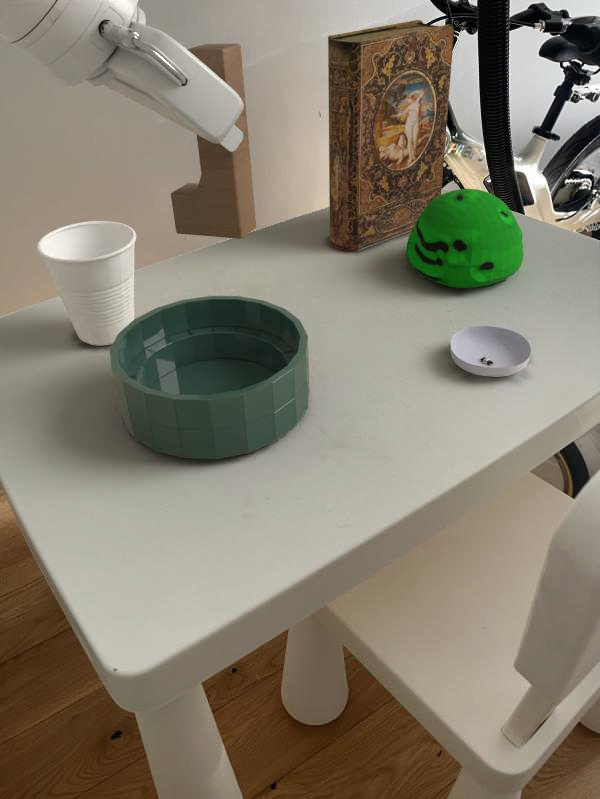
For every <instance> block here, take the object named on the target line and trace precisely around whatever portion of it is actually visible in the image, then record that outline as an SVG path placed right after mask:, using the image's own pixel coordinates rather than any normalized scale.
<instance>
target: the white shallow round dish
mask: <svg viewBox="0 0 600 799" xmlns="http://www.w3.org/2000/svg"><path fill="white" fill-rule="evenodd" d="M449 345H450V346H449V347H450V355H451V358H452V361H453V362H454V363H455V364H456V365H457V366H458V367H460V368H461V369H462V370H464V371H466V372H468V373H470V374H473V375H476V376H480V377H481V376H482V377H493V378H494V377H495V378H498V377H499V378H500V377H501V378H502V377H503V378H504V377H508V376H513V375H514V374H518V373H519V372H521V371H523V369H525V368H526V366H527V365H528V364H529V361H530V357H531V352H532V349H531V344H530V343H529V341H528V339H526V338H525V337H524V336H523V335H522V334H520V333H518V332H516V331H514V330H511V329H508V328H504V327H498V326H489V325H479V326H478V325H477V326H469V327H466V328H463V329H460V330H458V331H457V332H455V333H454V334H453V335H452V337H451V339H450V344H449Z"/></svg>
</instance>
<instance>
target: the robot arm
mask: <svg viewBox="0 0 600 799" xmlns="http://www.w3.org/2000/svg"><path fill="white" fill-rule="evenodd" d="M138 3H139V0H0V37H1V38H2V39H3V40H4V41H5V42H6V43H8V44H9V45H11V47H13V48H14V49H16V50H17V51H18V52H19V53H20V54H22V55H23V56H25V57H26V58H28V59H29V60H30V61H31V62H33V63H34V64H35V65H37V66H39V67H40V68H41V69H42V70H44V71H45V72H46V73H48V74H49V75H50V76H52V77H53V78H54V79H56V80H57V81H58V82H59V83H60V84H62V85H64V86H65V87H73V86H77V85H79V84H81V83H83V82H85V81H87V82H88V83H90V84H91V85H92V86H94V87H99V86H106V87H108V88H109V89H111V90H113V91H114V92H116V93H118V94H120V95H123V96H124V97H126V98H128V99H130V100H132V101H134V102H135V103H138V104H139V105H141V106H143V107H145V108H147V109H149V110H150V111H152V112H154V113H156V114H158V115H160V116H161V117H163V118H165V119H167V120H169V121H171V122H173V123H175V124H177V125H178V126H180V127H182V128H184V129H186V130H188V131H189V132H192V133H193V134H194V135H196V136H197V135H199V136H201V137H203V138H204V139H206V140H208V141H210V142H212V143H214V144H219V145H220V146H221V147H223V148H224V149H226V150H228V151H230V152H233V151H235V150H236V149H237V147H238V146H239V144H240V143H241V141H242V140H243V133H242V131H240V130H239V129H238V128H237V127H236V126H235V125H234V124H235V122H236V121H237V119H238V117H239V116H240V114H241V112H242V110H243V108H244V104H243V101H242V99H241V98H240V96H239V95H238V94H237V93H236V92H235V91H234V90H233V89H232V88H231V87H230V86H229V85H228V84H227V83H225V82H224V81H223V80H222V79H221V78H220V77H219V76H217V75H216V74H215V73H214V72H213V71H212V70H211V69H209V68H208V67H207V66H206V65H205V64H204V63H202V62H201V61H200V60H199V59H198V58H197V57H195V56H194V55H193V54H192V53H191V52H190V51H188V50H187V49H188V48H186V47H185V46H184V45H182V44H181V43H180V42H178V41H177V40H176V39H174V38H173V37H171V36H170V35H169V34H167V33H165V32H164V31H162V30H161V29H158V28H155V27H153V26H150V25H147V18H146V13H145V11H144V10H142V9H141V7H140V6H138Z"/></svg>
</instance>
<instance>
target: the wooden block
mask: <svg viewBox="0 0 600 799" xmlns="http://www.w3.org/2000/svg"><path fill="white" fill-rule="evenodd" d="M186 49H187V50H188V51H190V52H191V53H192V54H193V55H194V56H195V57H197V58H198V59H199V60H200V61H201V62H202V63H204V64H205V65H206V66H207V67H208V68H209V69H211V70H212V71H213V72H214V73H215V74H216V75H217V76H219V77H220V78H221V79H222V80H223V81H224V82H225V83H227V84H228V85H229V86H230V87H231V88H232V89H233V90H234V91H235V92H236V93H237V94H238V95H239V96H240V98H241V99H242V101H243V104H244V108H243V110H242V112H241V114H240V116H239V117H238V119H237V121H236V122H235V124H234V125H235V126H236V127H237V128H238V129H239V130H240V131H242V133H243V140H242V141H241V143H240V144H239V146H238V147H237V149H236V150H235V151H233V152H230V151H228V150H226V149H224V148H223V147H221V146H220V145H219V144H214V143H212V142H210V141H208V140H206V139H204V138H203V137H201V136H199V135H197V134H196V141H197V149H198V150H197V151H198V156H199V157H198V158H199V167H200V173H201V174H200V177H199V181H198V183H197V182H195V183H194V182H187V183H186V184H184V185H182V186H181V187H178V188H177V189H175V190H174V191H172V192H171V193H170V198H171V208H172V213H173V220H174V227H175V232H176V234H178V235H188V236H189V235H190V236H203V237H215V238H225V239H227V238H228V239H237V240H238V239H239V240H241V239H243V238H245V237H246V236H247V235H249V233H251V232H252V231H253V230H255V229H256V227H257V219H256V209H255V208H256V207H255V198H254V197H255V196H254V186H253V175H252V163H251V152H250V150H251V149H250V139H249V129H248V128H249V127H248V115H247V105H246V92H245V83H244V82H245V81H244V80H245V79H244V70H243V58H242V47H241V44H240V43H205V44H201V45H198V46H194V47H190V48H186Z"/></svg>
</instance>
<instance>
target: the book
mask: <svg viewBox="0 0 600 799" xmlns="http://www.w3.org/2000/svg"><path fill="white" fill-rule="evenodd" d="M454 31H455V29H454V25H452V24H444V25H433V24H429V23H428V24H427V23H425V22H424V21H423V20H421V19H415V20H408V21H404V22H397V23H392V24H387V25H381V26H376V27H375V26H374V27H371V28H365V29H360V30H354V31H348V32H342V33H337V34H332V35H328V37H327V57H328V58H327V63H328V64H327V66H328V67H327V68H328V69H327V71H328V72H327V73H328V74H327V75H328V76H327V77H328V80H327V81H328V175H329V176H328V177H329V178H328V181H329V185H328V187H329V188H328V190H329V192H328V194H329V196H328V198H329V199H328V200H329V243H330V245H332V246H333V247H334V248H337V249H339V250H342V251H346V252H350V253H352V252H355V253H357V252H359V251H362V250H364V249H367V248H369V247H372V246H376V245H378V244H381V243H384V242H386V241H389V240H391V239H394V238H397V237H399V236H402V235H405V234H408V233H411V232H412V230H413V228H414V226H415V224H416V222H417V220H418V218H419V216H420V215H421V213H422V212H423V210H424V209H425V208H426V207H427V206H428V204H429V203H430V202H431V201H432V200H433V199H435V198H436V197H438V196H440V195H442V189H443V188H442V187H443V173H444V164H445V163H444V162H445V149H446V139H447V138H446V136H447V126H448V124H447V123H448V115H449V114H448V111H449V102H450V101H449V100H450V88H451V87H450V86H451V75H452V63H453V52H454V51H453V49H454V36H455V35H454V33H455V32H454Z"/></svg>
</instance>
